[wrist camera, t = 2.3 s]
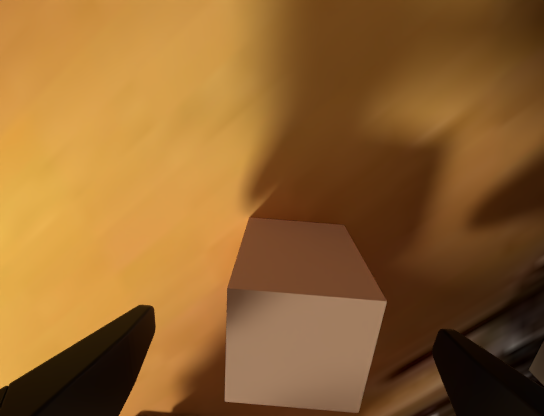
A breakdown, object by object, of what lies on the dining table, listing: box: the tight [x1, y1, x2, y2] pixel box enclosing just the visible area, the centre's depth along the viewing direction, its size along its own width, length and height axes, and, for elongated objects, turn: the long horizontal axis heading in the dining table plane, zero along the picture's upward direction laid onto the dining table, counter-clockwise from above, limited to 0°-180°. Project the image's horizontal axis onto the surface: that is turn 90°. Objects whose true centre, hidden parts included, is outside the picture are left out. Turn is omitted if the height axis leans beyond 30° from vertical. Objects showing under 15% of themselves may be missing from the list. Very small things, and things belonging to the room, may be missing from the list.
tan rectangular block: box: [225, 217, 387, 413], centre depth 10 cm, size 4×4×5 cm
